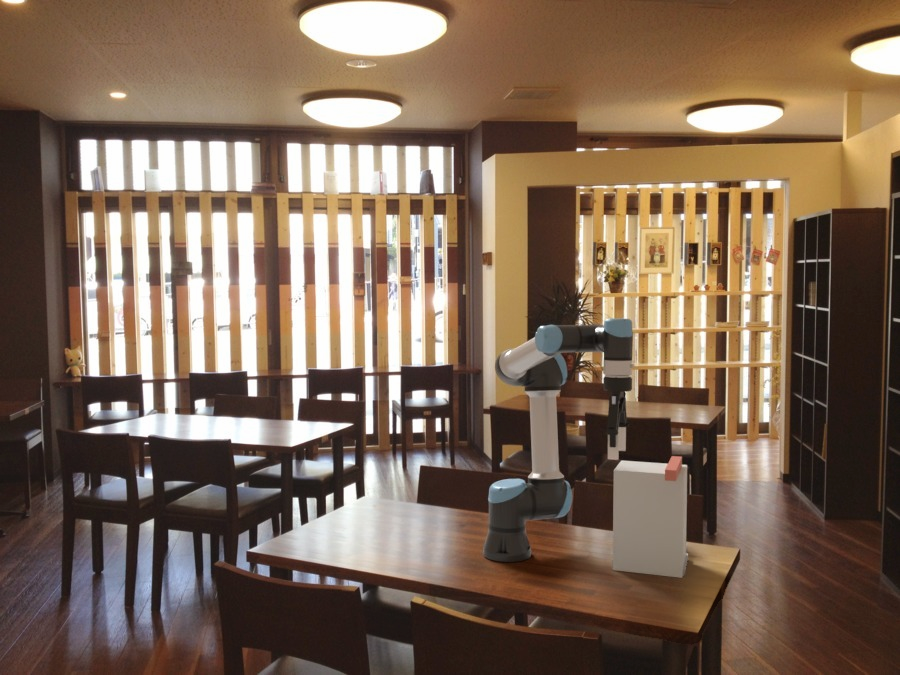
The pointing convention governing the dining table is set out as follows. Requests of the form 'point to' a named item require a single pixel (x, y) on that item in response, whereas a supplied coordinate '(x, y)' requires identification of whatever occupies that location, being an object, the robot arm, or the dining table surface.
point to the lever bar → (673, 468)
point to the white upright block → (649, 519)
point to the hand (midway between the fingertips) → (616, 454)
